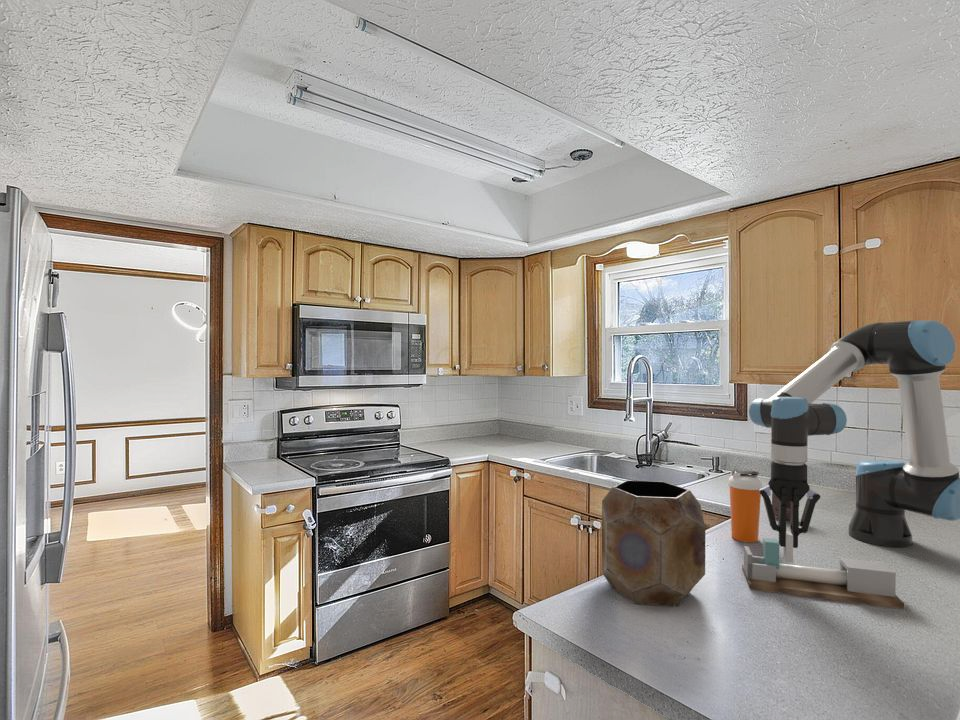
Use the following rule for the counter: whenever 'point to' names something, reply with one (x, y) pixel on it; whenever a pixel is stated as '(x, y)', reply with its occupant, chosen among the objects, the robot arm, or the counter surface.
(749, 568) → the socket
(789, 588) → the board
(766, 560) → the bolt
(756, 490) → the shaker bottle
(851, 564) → the sleeve
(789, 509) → the box
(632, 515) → the planter
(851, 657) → the counter surface
